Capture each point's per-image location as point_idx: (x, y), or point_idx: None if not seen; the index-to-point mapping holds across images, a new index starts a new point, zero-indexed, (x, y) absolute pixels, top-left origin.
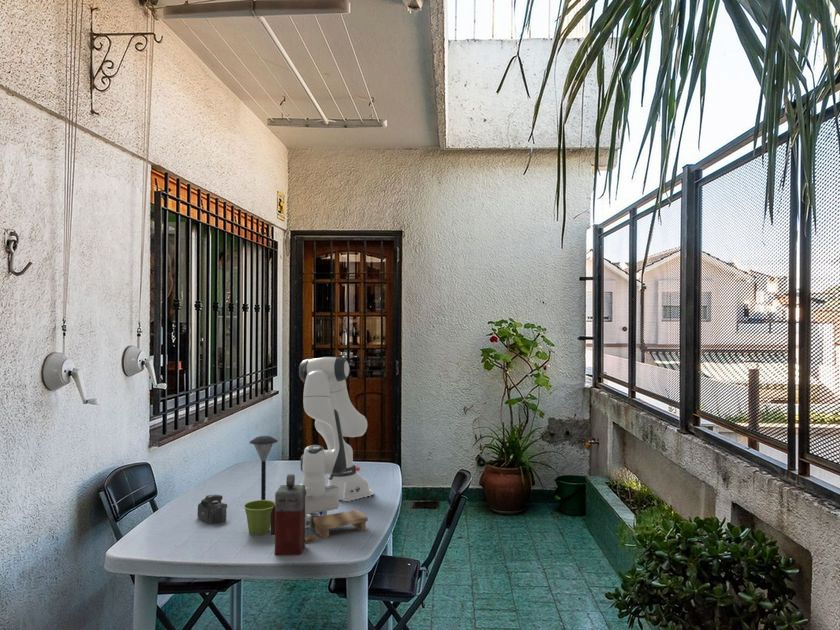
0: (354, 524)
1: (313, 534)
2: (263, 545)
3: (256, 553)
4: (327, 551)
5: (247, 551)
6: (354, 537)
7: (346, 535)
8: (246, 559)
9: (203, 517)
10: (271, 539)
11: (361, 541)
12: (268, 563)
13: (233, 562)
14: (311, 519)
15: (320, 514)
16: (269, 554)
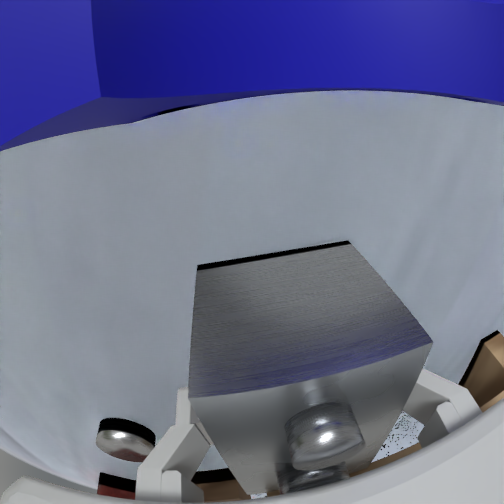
0: (477, 383)
1: (235, 499)
2: (22, 427)
3: (35, 453)
4: (266, 492)
5: (2, 432)
6: (405, 433)
7: (396, 425)
8: (30, 460)
9: None
10: (20, 401)
11: (398, 449)
12: (96, 489)
13: (11, 454)
14: (256, 491)
15: (460, 95)
16: (77, 471)
